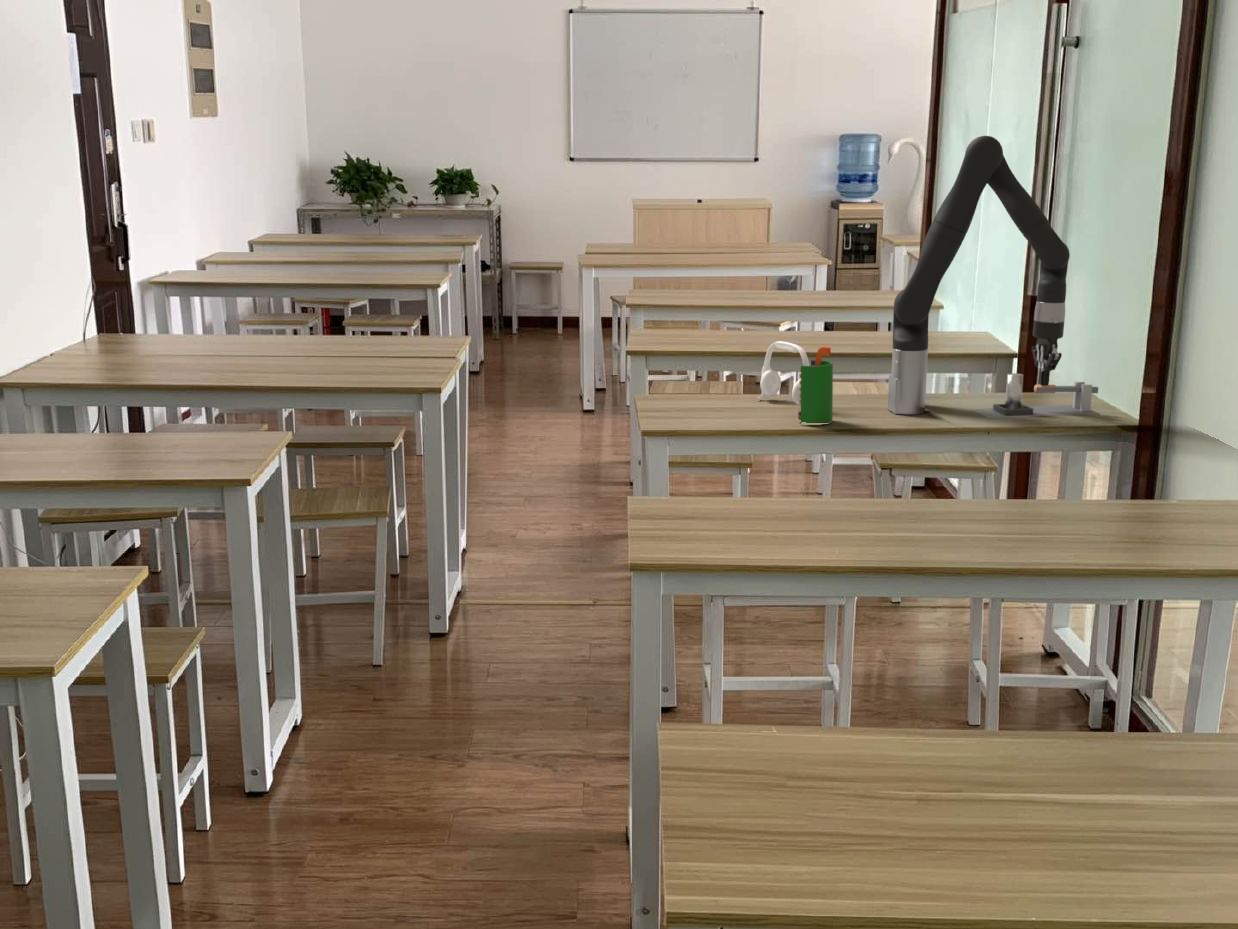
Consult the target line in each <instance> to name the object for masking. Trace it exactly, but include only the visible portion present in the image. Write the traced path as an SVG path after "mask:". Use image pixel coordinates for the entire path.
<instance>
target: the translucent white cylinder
mask: <svg viewBox="0 0 1238 929" xmlns="http://www.w3.org/2000/svg"><path fill="white" fill-rule="evenodd" d="M1023 385H1024V374H1022V373H1015V372H1012V373H1007V375H1006V386H1005V388H1006V389H1005V402H1004V404H1005V409H1021V404H1022V399H1023Z"/></svg>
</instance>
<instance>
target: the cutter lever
mask: <svg viewBox="0 0 1238 929" xmlns="http://www.w3.org/2000/svg"><path fill="white" fill-rule="evenodd" d="M1081 387H1082V386H1074V385H1056V384H1048V385H1040V384H1035V385H1034V386H1033V391H1034V393H1035V394H1055V393H1074V392H1081ZM1092 394H1099V386H1092Z"/></svg>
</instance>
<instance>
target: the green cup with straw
mask: <svg viewBox="0 0 1238 929" xmlns="http://www.w3.org/2000/svg"><path fill="white" fill-rule="evenodd" d="M831 350H832V349H831V346H825V345H823V346H821V347H820V348H819V349H818V350H817V352H816V356H815V359H810V366H804V364H802V365H801V366H800V367H799V370H798V371H799V372H800V374H799V380H800V379H801V380H800V381H799V384H800V385H801V387H800V388H799V390H800V391H801V393H800V394H799V397H800V398H801V400H799V403H800V404H801V405H800V411H799V412H798V413H797V420H798V419H799V420H801V422H806V423H830V422H832V423H833V400H834V399H833V398H834V396H833V394H834V393H833V390H834V389H833V388H834V387H833V386H834V385H833V382H834V378H833V377H834V373H833V372H834V363H833V361H830V360H822V358H823V356H825V357H826V356H827V357H830V356H831Z"/></svg>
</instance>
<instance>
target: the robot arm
mask: <svg viewBox="0 0 1238 929" xmlns="http://www.w3.org/2000/svg"><path fill="white" fill-rule="evenodd" d="M964 153H965V154H964V156H963V160H962V163H961V166H960V169H959V172H958V173H957V176H956V179H955V181H954V184H953V186H952V187H951V188H950V190H949V192H948V193H947V195H946V197H945V198H944V200H943V202H942V203H941V205H940V207H939V208H938V210H937V212H936V214H935V215H934V218H933V220H932V222H931V224H930V226H929V228H928V230H927V233H926V235H925V236H924V237H925V238H924V241H923V243H922V246H921V249H920V252H919V255H918V259H917V263H916V266H915V268H914V271H913V272H912V275H911V277H910V279H909V280H908V282H907V283H906V286H905V287H904V289H902V290H901V291H899V293H897V294H896V296H895V299H894V302H893V317H892V318H893V319H892V322H893V323H892V353H891V355H892V358H891V359H892V360H891V374H889V375H888V390H887V391H888V392H887V393H888V394H887V395H888V396H887V410H888V411H890V412H891V411H892V412H891V413H893V414H896V415H897V414H898V415H919V414H924V413H925V412H926V398H927V395H926V394H927V377H928V374H927V372H928V354H929V353H928V352H929V348H928V347H929V318H930V317H929V316H930V315H929V314H930V313H931V312H930V311H931V308H932V305H933V302H934V299H935V296H936V294H937V291H938V288H939V286H940V284H941V281H942V280H943V278H944V276H945V275H946V272H947V271H948V269H949V268H950V267H951V264H952V263H953V261H954V259H955V257H956V255H957V254H958V251H959V250H960V247H961V246H962V243H963V242H964V239H965V237H967V233H968V231H969V229H970V227H971V224H972V221H973V219H974V216H975V212H976V210H977V206H978V205H979V204H978V203H979V201H980V198H981V195H982V193H983V191H984V189H985V187H986V186H987V185H988V186H989V187H990V188H991V189H992V191H993V193H994V194H995V195H996V196H997V198H998V200H1000V202H1001V204H1002V205H1003V207H1004V209H1005V211H1006V212H1007V214H1008V216H1009V217H1010V218H1011V220H1012V222H1013V223H1014V224H1015V226H1016V227H1017V229H1018V231H1020V234H1022V236H1023V237H1024V239H1025V240H1027V241H1028V243H1029V245H1030V247H1031V248H1032V250H1033V251H1034V253H1035V254H1036V256H1037V258H1038V260H1039V261H1040V263H1039V266H1040V267H1039V279H1038V284H1037V292H1036V303H1035V307H1034V314H1033V328H1032V336H1033V337H1034V338H1037V340H1036V345H1035V346H1033V345H1032V347H1031V353H1032V356H1033V361H1034V366H1035V367H1037V369H1038V371H1039V372H1038V385H1050V384H1049V383H1050V376H1051V374H1050V373H1051V372H1052V371H1054V370H1056V368H1057V367H1058V364H1059V362H1060V361H1061V358H1062V355H1063V354H1062V352H1059V351H1058V348H1059V347H1058V346H1059V345H1058V339H1059V340H1060V339H1062V338H1063V337H1064V328H1065V320H1066V318H1065V317H1066V296H1067V273H1068V266H1069V261H1070V257H1071V256H1070V249H1069V248H1068V245H1066V243H1064V242H1063V240H1062V239H1061V237H1059V235H1058V234H1057V232H1056V231H1055V230H1054V229H1053V227H1052V225H1051V223H1050V220H1049V219H1048V218H1047V217H1046V215H1045V213H1044V212H1043V211H1042V209H1041V208H1040V206H1039V205H1038V204H1037V202H1036V201H1035V200H1034V199H1033V198H1032V196H1031V195H1030V193H1029V192H1027V190H1026V189H1025V188H1024V187H1023V186H1022V184H1021V183H1020V181H1018V179H1017V177H1016V175H1015V174H1014V173H1013V171H1012V169H1011V168H1010V166H1009V165H1008V162H1007V160H1006V158H1005V156H1004V151H1003V146H1002V144H1001V143H1000V141H999V140H998V139H997V138H996V137H993V136H991V135H981V136H978V137H976V138H974V139H972V140H971V141H970V143H969V144H968V145H967V147H966V150H965V152H964Z"/></svg>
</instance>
